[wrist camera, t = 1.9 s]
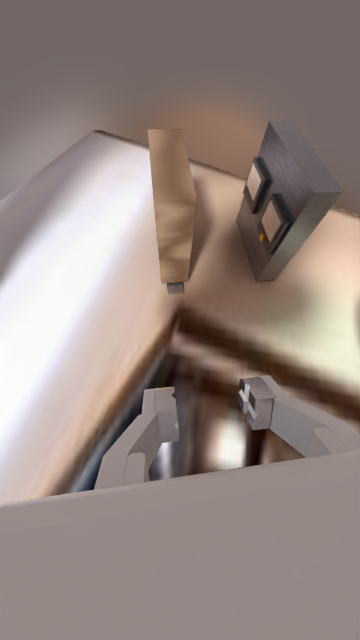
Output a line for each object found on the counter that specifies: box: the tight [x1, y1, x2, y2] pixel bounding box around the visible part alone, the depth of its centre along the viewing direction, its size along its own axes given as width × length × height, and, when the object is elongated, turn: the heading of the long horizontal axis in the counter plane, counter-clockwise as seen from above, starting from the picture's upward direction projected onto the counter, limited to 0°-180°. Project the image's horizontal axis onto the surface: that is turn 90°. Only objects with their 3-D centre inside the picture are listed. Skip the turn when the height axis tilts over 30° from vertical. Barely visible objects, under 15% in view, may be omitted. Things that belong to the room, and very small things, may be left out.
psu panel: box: [167, 121, 343, 294], centre depth 29 cm, size 17×27×14 cm, turn 6°
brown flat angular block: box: [148, 129, 197, 283], centre depth 26 cm, size 4×13×13 cm, turn 6°
